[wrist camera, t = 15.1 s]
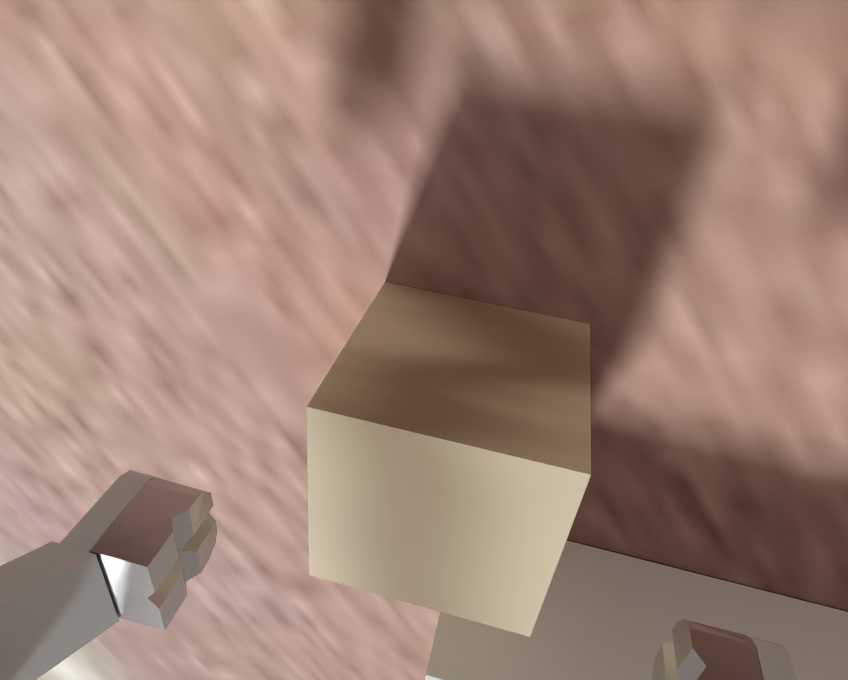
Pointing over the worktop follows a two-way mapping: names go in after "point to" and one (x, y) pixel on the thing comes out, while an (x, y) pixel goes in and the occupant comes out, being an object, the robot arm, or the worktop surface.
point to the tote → (633, 624)
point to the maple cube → (450, 455)
